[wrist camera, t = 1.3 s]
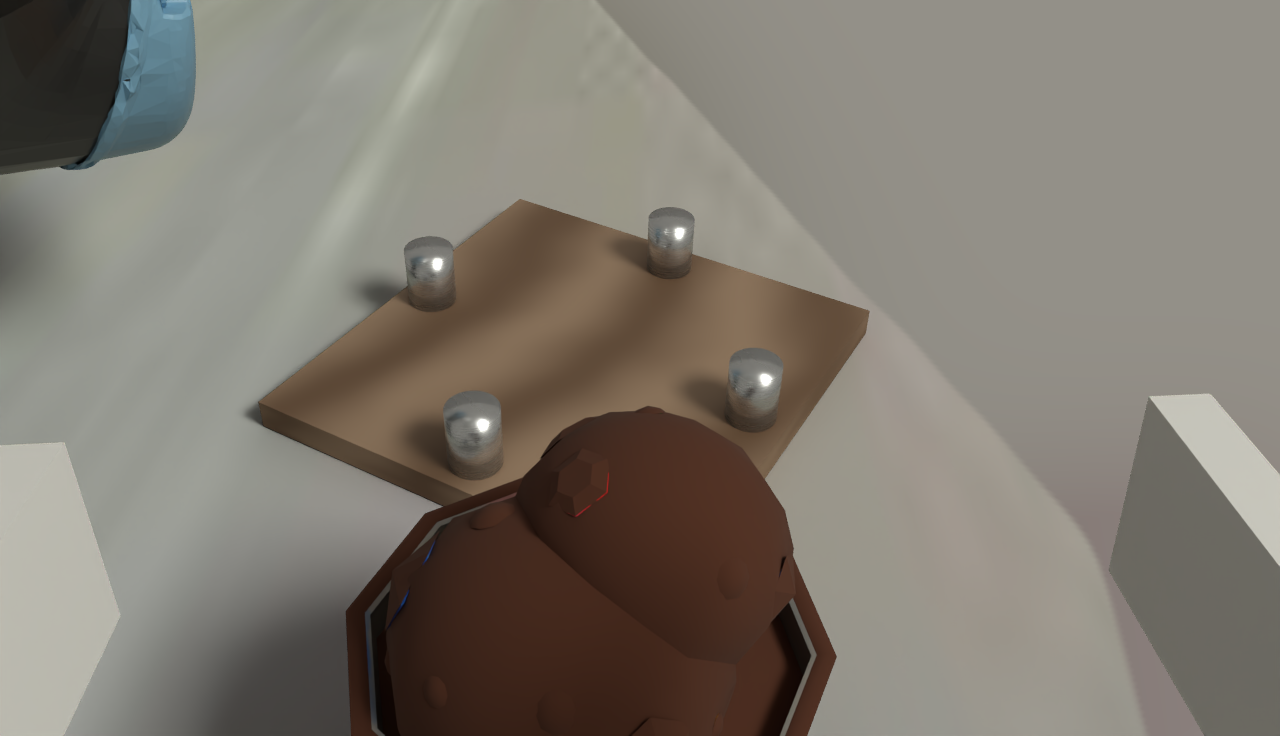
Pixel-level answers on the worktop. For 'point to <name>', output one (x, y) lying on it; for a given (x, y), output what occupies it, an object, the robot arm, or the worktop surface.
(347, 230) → the worktop surface
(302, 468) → the worktop surface
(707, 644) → the ice cream bowl
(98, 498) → the worktop surface
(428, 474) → the stub board
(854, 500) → the worktop surface
